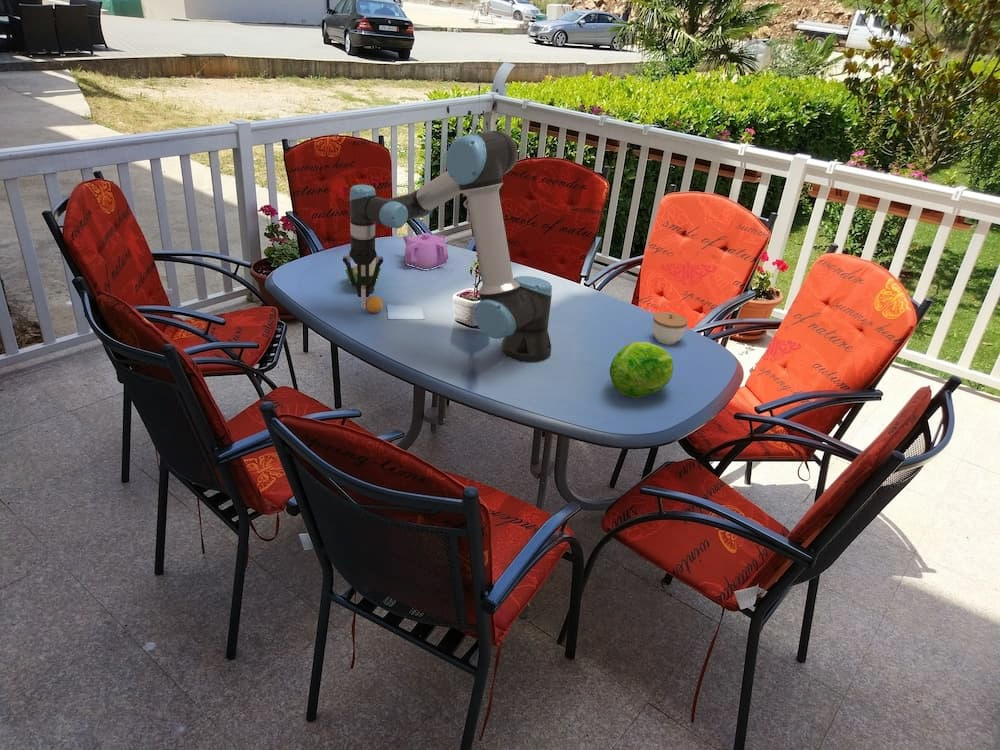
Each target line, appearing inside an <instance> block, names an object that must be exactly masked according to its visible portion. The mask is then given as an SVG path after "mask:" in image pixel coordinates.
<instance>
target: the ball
mask: <svg viewBox="0 0 1000 750" xmlns="http://www.w3.org/2000/svg"><path fill="white" fill-rule="evenodd" d="M383 306H384V305H383V301H382V299H381V298H380V297H379V296H376V295H372V296H369V297H367V298H366V308H365V309H366V310H367V311H368V312H370V313H372V314H375V313H377V314H378V313H379V312H381V310H382V309H383Z"/></svg>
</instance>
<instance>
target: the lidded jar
mask: <svg viewBox="0 0 1000 750" xmlns="http://www.w3.org/2000/svg"><path fill="white" fill-rule="evenodd" d="M687 325H688V319H687V318H686V317H684V316H683V315H680V314H678V313H673V312H669V311H667V312H666V311H664V312H657V313H655V314H654V315H653V318H652V333H653V336H654V337H655V338H656V340H657V342H659V343H660V344H663V345H671V346H672V345H674V344H676V343H677V342H679V341H680V340H681V339H682V338H683V336H684V334H685V332H686V328H687Z"/></svg>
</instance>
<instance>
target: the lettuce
mask: <svg viewBox="0 0 1000 750" xmlns="http://www.w3.org/2000/svg"><path fill="white" fill-rule="evenodd" d="M673 372H674V364H673V357H672V355H671V354H670V353H669V352H668V351H666V350H665V349H664V348H663V347H661V346H659V345H656V344H653V343H651V342H648V341H633V342H630V343H628V344H627V345H625V346H624V347H622V348H621V349H620V350H619V351H618V353H616V354H615V356H613V359H612V360H611V364H610V367H609V376H610V380H611V383H612V385H613V387H614V389H615V390H616V391H617V392H618V393H619V394H620V395H622V396H626V397H630V398H634V399H639V398H642V397H645V396H649V395H653V394H655V393H657V392H658V391H660V390H662V389H663V388H664V387H666V386H667V385H668V384H669V383H670V380H671V379H672V378H673Z"/></svg>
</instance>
